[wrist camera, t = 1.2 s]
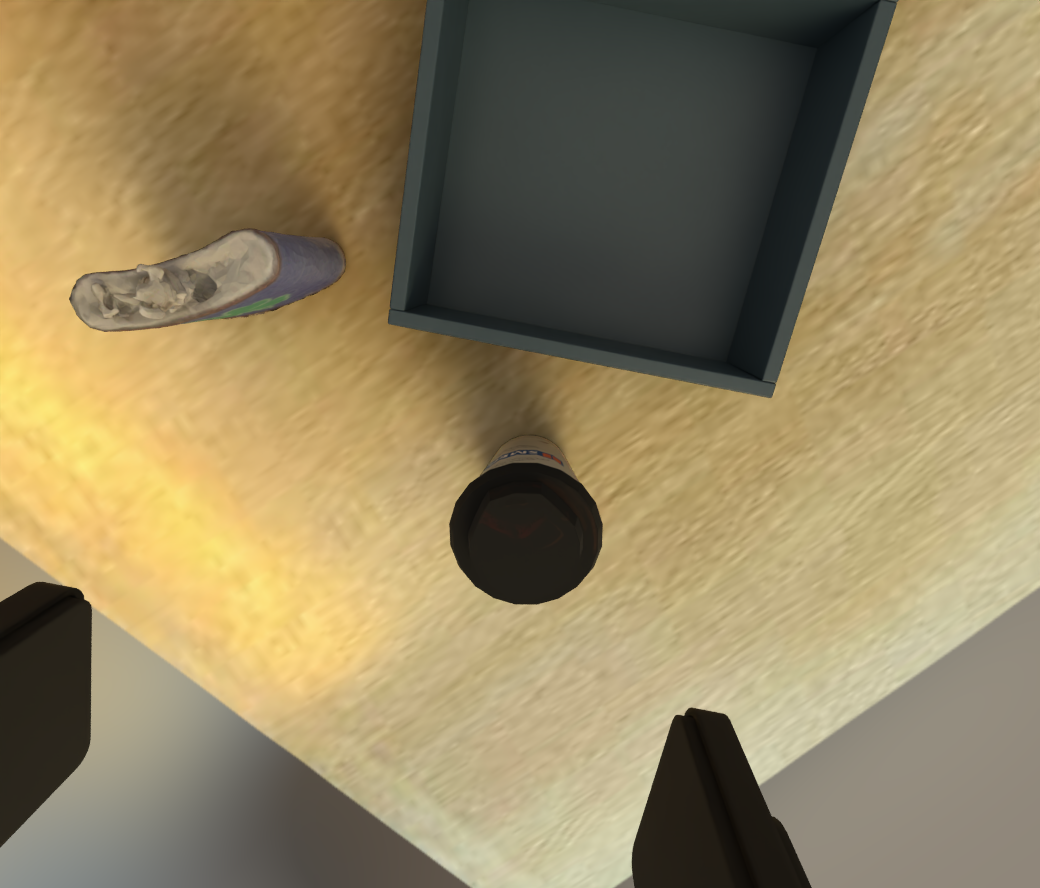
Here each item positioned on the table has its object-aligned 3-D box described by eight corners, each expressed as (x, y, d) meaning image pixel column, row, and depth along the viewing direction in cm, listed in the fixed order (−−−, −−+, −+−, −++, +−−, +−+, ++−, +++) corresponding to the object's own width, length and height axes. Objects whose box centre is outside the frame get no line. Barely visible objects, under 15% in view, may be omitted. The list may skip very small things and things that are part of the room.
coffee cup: (596, 518, 36) (616, 610, 26) (482, 534, 36) (461, 630, 27) (579, 405, 34) (595, 461, 24) (459, 424, 34) (428, 486, 25)
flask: (338, 231, 32) (240, 216, 21) (357, 286, 32) (271, 298, 22) (181, 278, 33) (16, 285, 22) (203, 330, 33) (53, 360, 23)
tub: (461, -37, 28) (440, -117, 22) (830, 39, 28) (905, -20, 23) (414, 313, 33) (387, 324, 27) (731, 375, 33) (772, 398, 27)
